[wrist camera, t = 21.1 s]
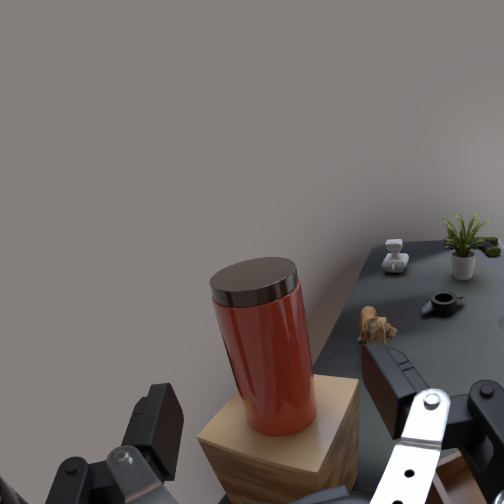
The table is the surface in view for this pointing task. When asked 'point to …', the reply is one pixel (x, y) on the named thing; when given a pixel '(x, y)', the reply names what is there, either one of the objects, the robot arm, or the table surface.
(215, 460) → the oak stand
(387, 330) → the lion figurine
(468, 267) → the house plant
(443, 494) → the wooden box
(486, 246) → the gun
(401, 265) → the stamp
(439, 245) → the table surface
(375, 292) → the table surface
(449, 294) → the duct tape
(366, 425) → the table surface
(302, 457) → the cork trivet
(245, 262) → the spice jar
